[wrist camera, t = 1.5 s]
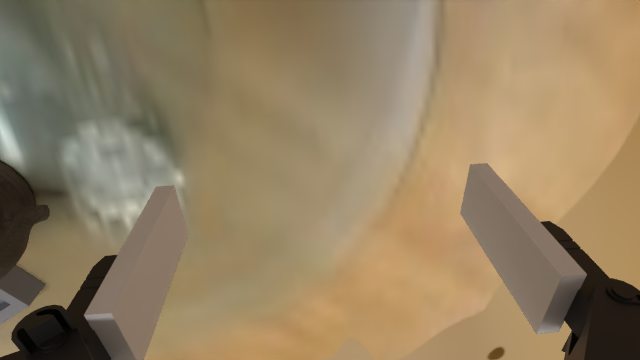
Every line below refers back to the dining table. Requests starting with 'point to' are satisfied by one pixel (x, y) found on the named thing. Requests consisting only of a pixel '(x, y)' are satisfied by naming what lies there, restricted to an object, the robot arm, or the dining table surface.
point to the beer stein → (16, 217)
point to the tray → (17, 292)
